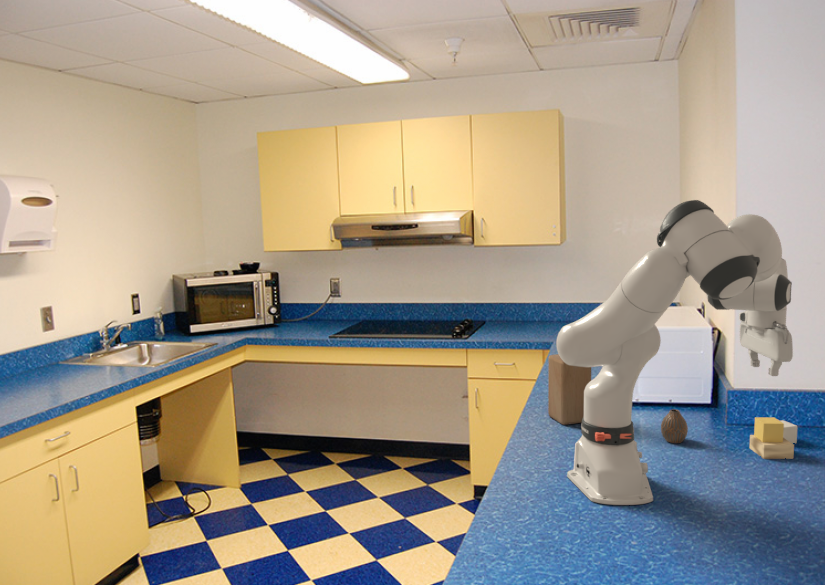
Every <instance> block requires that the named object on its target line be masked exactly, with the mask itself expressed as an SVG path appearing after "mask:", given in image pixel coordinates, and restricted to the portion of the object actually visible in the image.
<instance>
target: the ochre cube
mask: <svg viewBox="0 0 825 585" xmlns="http://www.w3.org/2000/svg"><path fill="white" fill-rule="evenodd" d="M753 428H754V429H753V431H754V432H753V435H754V436H755V437H757V438H758V439H759V440H761V441H762V442H783V431H784V423H782V422H781V420H779V419H777V418H776V417H767V416H766V417H763V416H762V417H759V416H758V417H757V416H756V417H754V427H753Z"/></svg>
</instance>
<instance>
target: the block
mask: <svg viewBox="0 0 825 585" xmlns="http://www.w3.org/2000/svg"><path fill="white" fill-rule="evenodd" d="M547 370H548V372H547V373H548V377H547V378H548V382H547V383H548V390H547V391H548V392H547V393H548V395H547V396H548V401H547V402H548V404H547V408H548V409H547V411H548V412H547V414H548V416H549V418H551V419H553V420H554V421H556V422H558V423H559V424H561V425H563V426H565V425H566V426H567V425H575V424H581V423H582V418H583V417H584V390H585V387H586V385H587V384H588V383H589V382H590V381H591V380H592V367H578V366H571V365H567V364H566V363H565V362H564V361H563V360H562V359H561V358H560V356H559V354H556V353H555V354H551V355H548V369H547Z"/></svg>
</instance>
